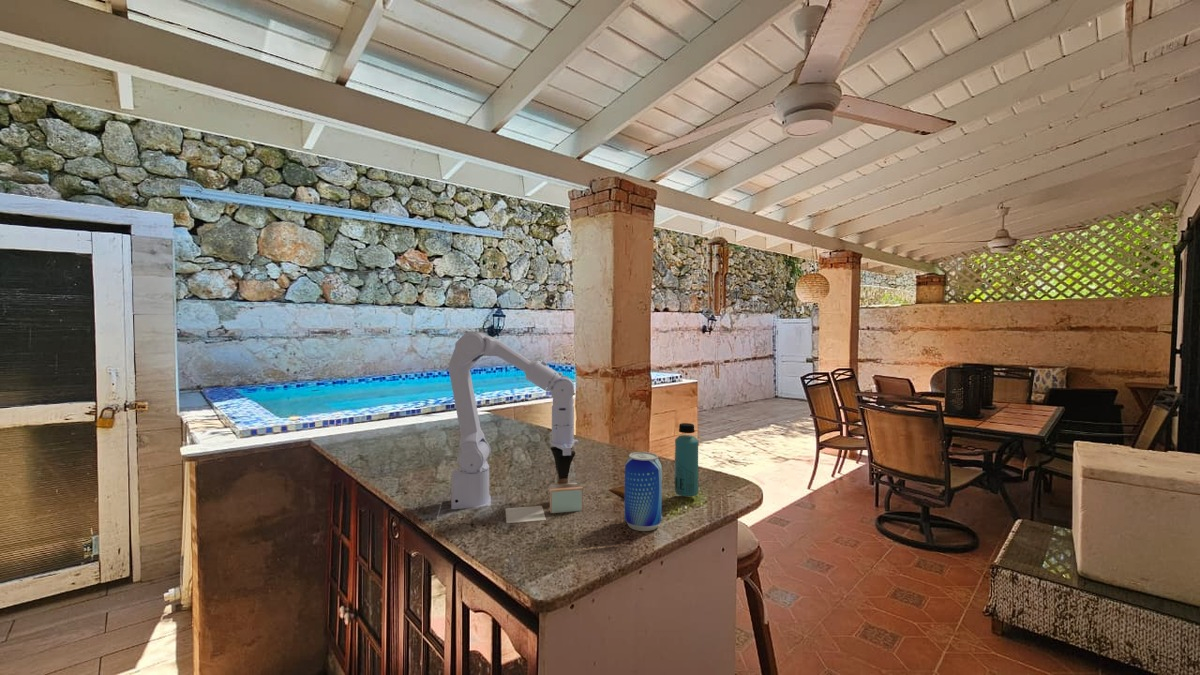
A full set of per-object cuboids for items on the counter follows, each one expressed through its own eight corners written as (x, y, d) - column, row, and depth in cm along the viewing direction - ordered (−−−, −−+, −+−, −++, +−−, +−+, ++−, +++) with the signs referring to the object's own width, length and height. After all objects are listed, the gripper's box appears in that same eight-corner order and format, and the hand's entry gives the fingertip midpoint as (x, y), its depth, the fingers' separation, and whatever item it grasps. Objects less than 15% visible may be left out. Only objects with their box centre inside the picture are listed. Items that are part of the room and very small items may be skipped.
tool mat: (506, 525, 105) (506, 523, 105) (505, 510, 114) (505, 508, 114) (546, 521, 108) (546, 519, 108) (541, 507, 116) (541, 505, 116)
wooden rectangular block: (549, 493, 117) (550, 465, 117) (548, 489, 120) (548, 462, 120) (577, 491, 118) (577, 464, 118) (574, 487, 121) (575, 460, 121)
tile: (550, 515, 112) (550, 490, 111) (549, 513, 113) (549, 488, 113) (582, 512, 113) (583, 488, 113) (581, 510, 115) (581, 486, 115)
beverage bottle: (702, 496, 125) (703, 423, 125) (693, 504, 119) (694, 427, 119) (679, 492, 128) (680, 420, 128) (669, 499, 123) (670, 424, 123)
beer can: (664, 520, 109) (665, 452, 109) (657, 535, 101) (657, 461, 101) (630, 515, 112) (630, 449, 111) (620, 529, 104) (620, 458, 103)
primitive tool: (608, 491, 130) (608, 478, 130) (625, 488, 133) (625, 476, 133) (645, 515, 113) (646, 500, 113) (664, 511, 116) (664, 497, 116)
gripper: (583, 428, 113) (583, 484, 113) (573, 418, 127) (572, 467, 127) (554, 430, 112) (554, 486, 112) (547, 419, 126) (547, 469, 126)
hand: (562, 476), depth 119 cm, fingers closed on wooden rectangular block, 2 cm apart
